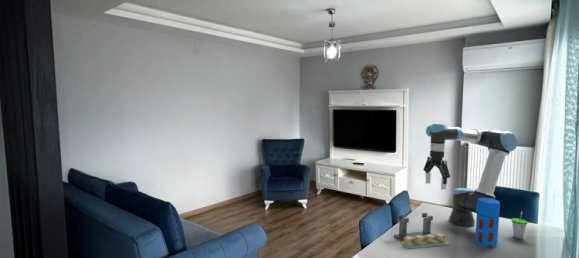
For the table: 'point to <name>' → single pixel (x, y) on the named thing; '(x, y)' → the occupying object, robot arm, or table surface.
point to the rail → (424, 239)
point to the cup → (519, 227)
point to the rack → (404, 233)
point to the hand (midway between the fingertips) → (435, 186)
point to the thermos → (487, 222)
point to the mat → (424, 245)
